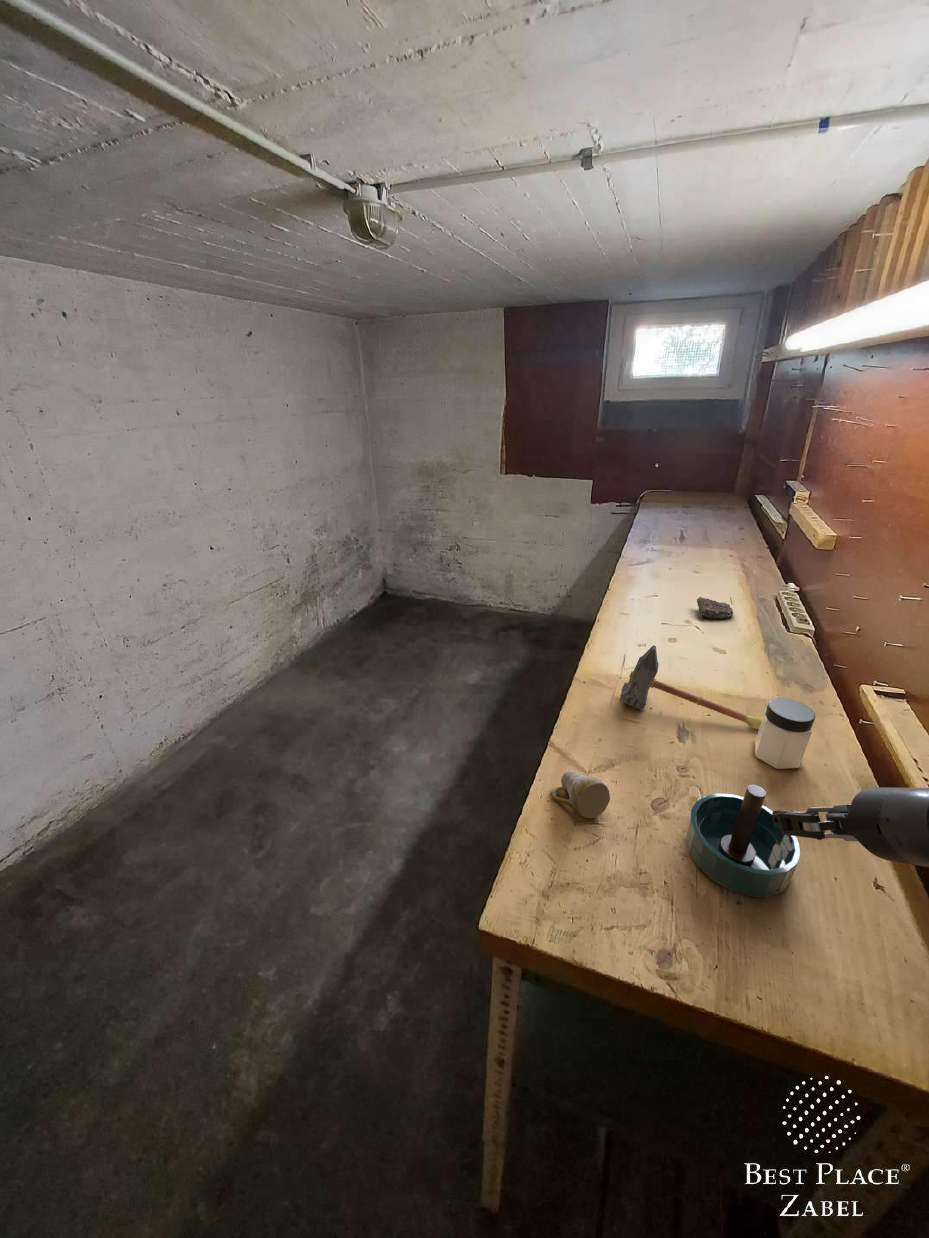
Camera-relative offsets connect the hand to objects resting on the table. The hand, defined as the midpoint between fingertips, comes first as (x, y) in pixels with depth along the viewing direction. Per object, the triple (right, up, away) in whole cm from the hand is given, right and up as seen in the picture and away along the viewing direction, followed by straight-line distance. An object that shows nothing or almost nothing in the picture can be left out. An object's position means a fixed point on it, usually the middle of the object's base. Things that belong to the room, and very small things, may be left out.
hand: (806, 816), depth 64 cm
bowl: (0, -13, +16) cm, 21 cm away
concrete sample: (+38, +28, +98) cm, 108 cm away
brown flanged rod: (0, -13, +16) cm, 20 cm away
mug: (-24, -9, +28) cm, 38 cm away
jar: (+20, -3, +37) cm, 42 cm away
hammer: (+7, +4, +51) cm, 51 cm away
